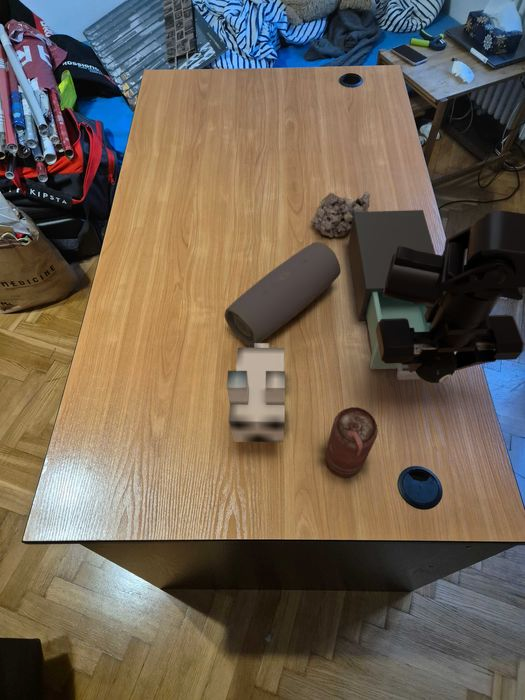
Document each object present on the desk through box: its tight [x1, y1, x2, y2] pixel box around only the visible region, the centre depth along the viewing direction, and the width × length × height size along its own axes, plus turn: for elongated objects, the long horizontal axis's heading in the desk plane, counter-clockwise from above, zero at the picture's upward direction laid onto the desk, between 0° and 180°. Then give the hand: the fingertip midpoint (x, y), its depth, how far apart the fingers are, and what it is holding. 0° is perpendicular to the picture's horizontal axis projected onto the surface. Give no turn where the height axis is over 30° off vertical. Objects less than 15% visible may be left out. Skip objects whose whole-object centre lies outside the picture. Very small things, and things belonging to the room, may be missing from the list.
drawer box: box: [347, 209, 436, 322], centre depth 91 cm, size 20×14×10 cm
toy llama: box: [226, 342, 286, 443], centre depth 72 cm, size 8×18×20 cm, turn 179°
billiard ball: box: [415, 349, 457, 384], centre depth 69 cm, size 6×6×6 cm
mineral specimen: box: [309, 191, 371, 238], centre depth 101 cm, size 12×9×10 cm
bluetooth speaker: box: [224, 241, 341, 347], centre depth 88 cm, size 23×9×10 cm, turn 134°
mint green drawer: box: [365, 291, 430, 380], centre depth 83 cm, size 23×12×8 cm, turn 1°
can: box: [324, 406, 379, 478], centre depth 69 cm, size 6×6×14 cm
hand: (431, 369), depth 71 cm, fingers closed on billiard ball, 6 cm apart
